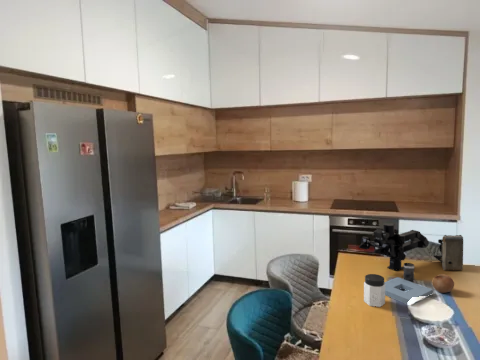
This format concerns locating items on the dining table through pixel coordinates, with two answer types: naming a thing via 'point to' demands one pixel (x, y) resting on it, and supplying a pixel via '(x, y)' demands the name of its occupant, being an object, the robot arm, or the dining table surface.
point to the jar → (374, 290)
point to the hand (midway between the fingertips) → (366, 249)
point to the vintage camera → (451, 252)
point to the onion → (443, 283)
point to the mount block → (414, 289)
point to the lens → (409, 272)
